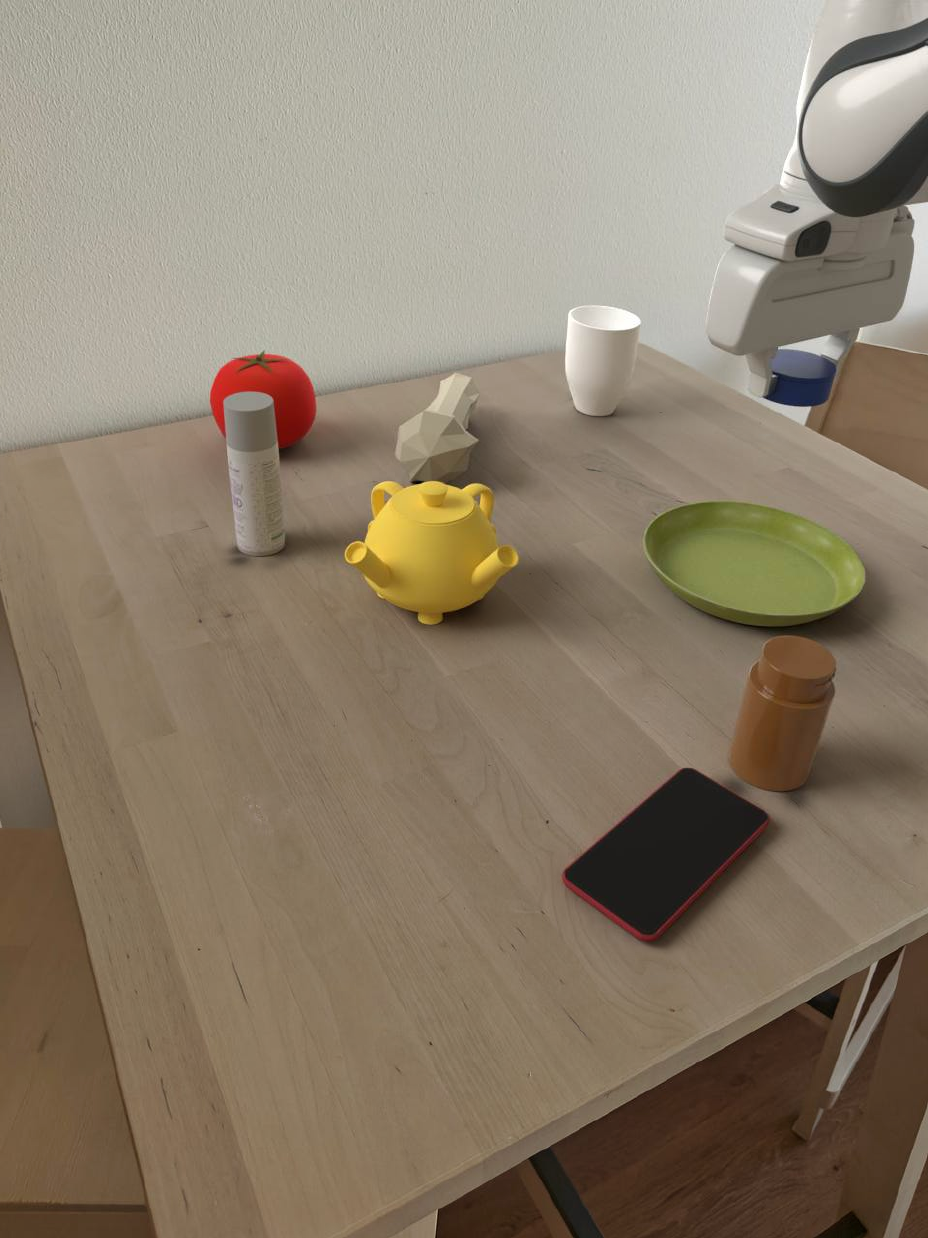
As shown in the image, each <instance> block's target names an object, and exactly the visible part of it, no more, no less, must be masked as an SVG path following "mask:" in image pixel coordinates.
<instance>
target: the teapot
mask: <svg viewBox="0 0 928 1238" xmlns="http://www.w3.org/2000/svg"><path fill="white" fill-rule="evenodd" d="M385 492H386V493H387V494H389V495H390V496H391V497H390V498H389V499H388V500H387V502H386V501H385ZM479 495H480V500H479V503H478V502H477V501H476V499H474V498H476V497H477V496H479ZM370 504H371V510H372V515H373V519H372V520H371V521H370V522H369V523H368V526H367V534H366V535H365V539H364V542H363V541H360V540H357V541H353V542H351V543H350V544H349V545H348V546H347V547H346V548H345V551H344V559H345V561H346V562H347V563H349V564H350V565H351V566H352V567H353V568H355V569H356V570H357V571H358V572H360V573H361V574H362V575H363V577H364V579H365V581H366V582H367V584H368V585H369V586H370V587H371V588H372V590H374V592H376V595H377V596H378V597H379V598H381V599H384V600H386V601H387V602H389V603H390V604H392V605H394V606H396V607H398V608H401V609H404V610H407V611H411V612H416V613H417V620H418V621H419V622H420V623H422V624H423V625H429V626H430V625H431V626H432V625H437V624H439V623H441V622H442V621H443V613H449V612H454V611H459V610H461V609H463V608H466V607H468V606H470V605H472V604H473V603H475V602H478V601H480V600H482V599H483V598H484V597H485V595H486V594H487V593H489V592H490V590H491V589H492V588H493V587H494V586H495V585H496V584H497V581H498V580H499V578H501V577H502V576H503V575H505V574H506V573H508V572H509V571H510V570H512V569H513V568H514V567H515V566H517V565H518V563H519V561H520V560H519V559H520V558H519V553H518V552H517V550H516V549H515V548H514V547H513V546H511V545H509V544H502V545H500V546H499V541H498V538H497V530H496V527H495V525H494V524H493V523H492V522H490V521H491V519H492V514H493V510H494V505H495V496H494V493H493V491H492V490H491V488H489V487H488V486H486V485H485V484H482V483H478V482H477V483H471V484H467V486H465V487H464V488H462V489H461V488H459V487H456V486H453V485H449V484H446V483H445V484H444V483H441V482H437V481H428V482H424V481H423V482H422V483H418V484H413V485H410V486H406V487H403V486H402V485H400V484H399V483H398V482H395V481H391V480H386V481H382V482H380V483H378V484H377V485H375V486H374V487H373V489H371V493H370Z"/></svg>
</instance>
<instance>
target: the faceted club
mask: <svg viewBox="0 0 928 1238" xmlns="http://www.w3.org/2000/svg"><path fill="white" fill-rule="evenodd" d="M439 383H440V385H439V390H438V394H437V396H436V397H435V399H434V400H433V401H432V402H431V404H430V405H429V406H428V407H427V408H425V409H424V410H422V411H421V412H419V413H418V414H416V415H414V416H413V417H412V418H409V420H407V421H405V422H404V423H402V424H400V426H399V427H398V432H397V439H396V446H395V453H394V456H395V457H396V459H397V461H398V462H399V463H400V465H401V466H402V468H403V469H404V470H405V471H406V473H407V475H408V478H409V483H415V482H423V483H424V482H428V481H437V482H441V483H444V484H445V485H446V484H447V483H449V482H451V481H452V480H453V479H456V478H457V477H458V476H460V475H462V474H464V473H465V472H467V469H468V465H469V459H470V455H471V454H470V453H471V451H472V450H473V449H474V448H475V446H476V445H477V443H478V442H479V441H480V440H479V439H478V438H476V437H475V436H474V435H472V434H471V433H470V432H469V431H467V430H468V427H469V419H470V415H471V414H472V413H473V412H474V410H475V409H476V406H477V403H478V400H479V397H480V395H481V392H480V390H479V388H478V386H477V385H476V382H475V381H474V379H473V377H471V376H468V375H465V374H462V373H459V372H455V373H453V374H452V375H450V376H448V377H447V378H445V379H442V380H440V382H439Z"/></svg>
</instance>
